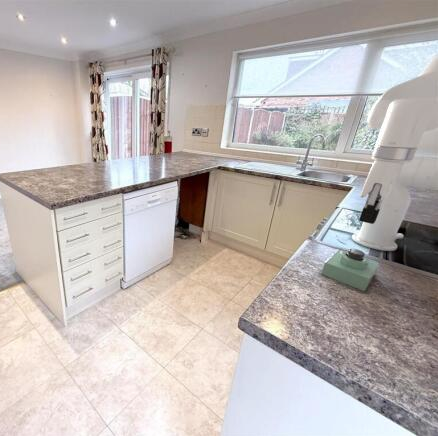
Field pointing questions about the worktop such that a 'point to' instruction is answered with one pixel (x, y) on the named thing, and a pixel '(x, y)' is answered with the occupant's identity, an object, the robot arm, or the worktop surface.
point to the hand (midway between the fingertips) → (366, 221)
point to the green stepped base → (350, 270)
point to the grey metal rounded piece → (355, 254)
